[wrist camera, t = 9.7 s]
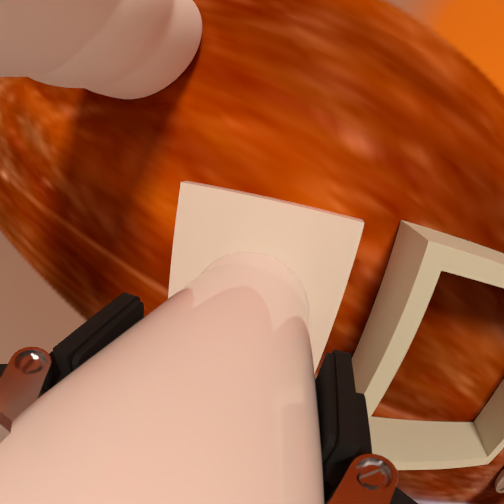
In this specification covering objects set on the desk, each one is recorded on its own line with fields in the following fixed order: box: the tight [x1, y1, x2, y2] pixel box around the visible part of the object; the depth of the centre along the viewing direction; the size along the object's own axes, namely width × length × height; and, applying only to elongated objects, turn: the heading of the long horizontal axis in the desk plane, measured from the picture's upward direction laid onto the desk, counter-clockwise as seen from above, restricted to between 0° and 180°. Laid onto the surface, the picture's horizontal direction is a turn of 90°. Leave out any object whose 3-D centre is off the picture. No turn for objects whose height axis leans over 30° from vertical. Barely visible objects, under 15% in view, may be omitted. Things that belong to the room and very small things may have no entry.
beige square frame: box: [352, 220, 504, 470], centre depth 14 cm, size 14×14×4 cm
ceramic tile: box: [168, 181, 364, 374], centre depth 16 cm, size 9×9×1 cm
